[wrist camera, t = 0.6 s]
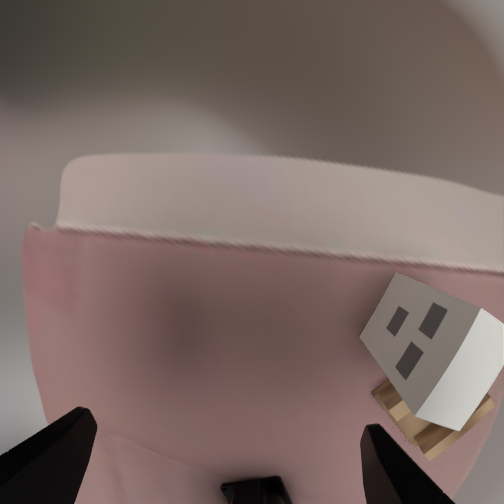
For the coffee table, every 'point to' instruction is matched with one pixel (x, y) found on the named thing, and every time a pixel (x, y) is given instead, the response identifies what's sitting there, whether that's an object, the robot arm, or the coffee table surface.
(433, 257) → the coffee table surface
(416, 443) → the slot holder
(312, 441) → the coffee table surface
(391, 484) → the robot arm
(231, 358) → the coffee table surface
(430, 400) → the white rectangular box
